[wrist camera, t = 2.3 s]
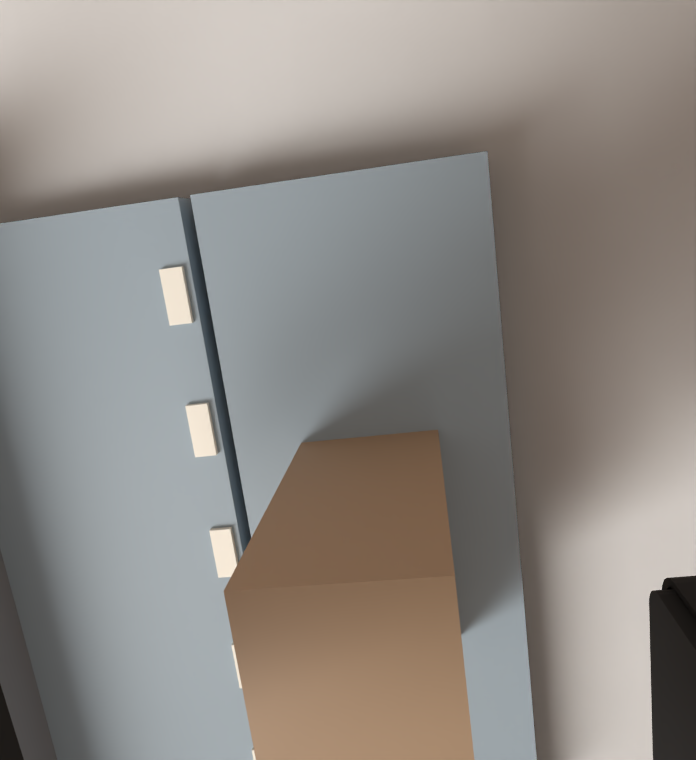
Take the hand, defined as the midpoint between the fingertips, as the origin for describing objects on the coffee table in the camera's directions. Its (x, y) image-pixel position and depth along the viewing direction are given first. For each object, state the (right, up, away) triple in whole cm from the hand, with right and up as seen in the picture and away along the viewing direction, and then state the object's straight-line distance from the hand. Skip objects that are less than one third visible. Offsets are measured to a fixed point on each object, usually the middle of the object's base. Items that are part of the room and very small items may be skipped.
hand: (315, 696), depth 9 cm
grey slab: (+1, +1, +7) cm, 7 cm away
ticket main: (-6, 0, +8) cm, 10 cm away
